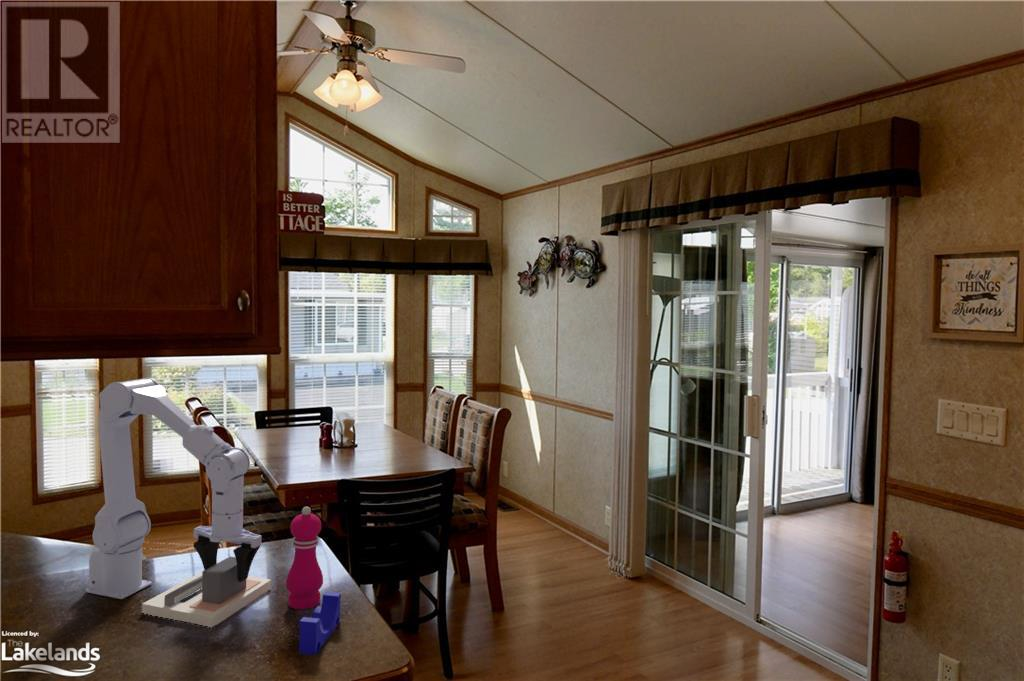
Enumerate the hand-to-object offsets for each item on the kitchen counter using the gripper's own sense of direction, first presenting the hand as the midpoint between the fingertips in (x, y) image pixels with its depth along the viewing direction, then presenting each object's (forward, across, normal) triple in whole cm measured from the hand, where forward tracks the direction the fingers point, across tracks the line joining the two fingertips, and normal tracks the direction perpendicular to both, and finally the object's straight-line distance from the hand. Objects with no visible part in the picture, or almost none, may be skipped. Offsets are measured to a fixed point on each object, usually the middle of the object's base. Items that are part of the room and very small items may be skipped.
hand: (226, 576), depth 135 cm
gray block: (+3, 0, 0) cm, 3 cm away
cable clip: (+6, +24, -5) cm, 25 cm away
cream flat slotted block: (+6, -4, 0) cm, 7 cm away
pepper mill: (+6, +14, +6) cm, 16 cm away
